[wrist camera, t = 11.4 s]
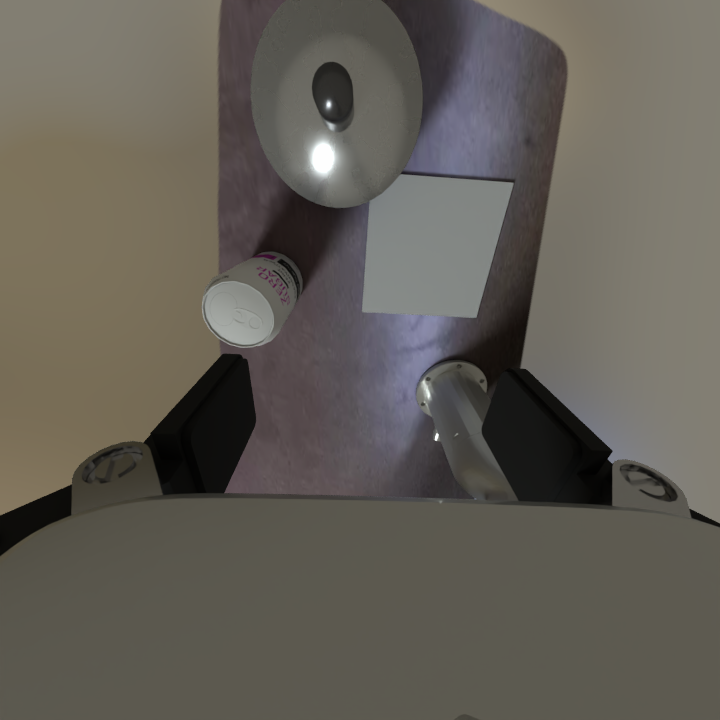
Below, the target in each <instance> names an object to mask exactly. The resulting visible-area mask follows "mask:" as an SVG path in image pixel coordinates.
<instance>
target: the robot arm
mask: <svg viewBox="0 0 720 720" xmlns="http://www.w3.org/2000/svg"><path fill="white" fill-rule="evenodd" d="M486 391H487V381H486V377H485V376H484V374H483V372H482V371H481V370H480V369H479V368H478V367H477V366H476V365H474V364H472V363H470V362H467V361H464V360H449V361H445V362H442V363H439V364H437V365H435V366H433V367H432V368H430V369H429V370H428V371H427V372H425V373H424V375H423V376H422V377H421V378H420V380H419V382H418V384H417V388H416V399H417V402H418V405H419V406H420V408H421V409H422V410H423V411H424V413H426V414H427V415H429V416H431V417H432V418H433V421H434V425H435V428H434V432H433V436H432V437H433V439H434V440H436V441H441V443H442V445H443V448H444V451H445V453H446V456H447V459H448V461H449V464H450V467H451V469H452V472H453V475H454V477H455V479H456V480H457V482H458V483H459V485H460V486H461V487H462V488H463V489H464V490H465V491H466V492H467V493H469V494H470V495H471V496H473V497H474V498H476V499H477V500H474V499H444V498H411V497H377V496H340V495H299V494H242V493H224V492H225V490H226V488H227V486H228V483H229V481H230V479H231V477H232V475H233V473H234V470H235V468H236V466H237V464H238V462H239V460H240V457H241V455H242V453H243V451H244V449H245V447H246V444H247V442H248V440H249V438H250V436H251V434H252V431H253V429H254V427H255V423H256V414H255V407H254V401H253V394H252V387H251V380H250V373H249V366H248V361H247V359H243V357H242V355H240V354H222V355H221V356H220V357H219V359H218V360H217V361H216V362H215V363H214V364H213V365H212V366H211V367H210V368H209V370H208V371H207V372H206V373H205V374H204V375H203V376H202V377H201V378H200V379H199V380H198V382H197V383H196V384H195V385H194V386H193V387H192V388H191V389H190V390H189V391H188V393H187V394H186V395H185V396H184V397H183V398H182V399H181V400H180V402H179V403H178V404H177V405H176V406H175V407H174V408H173V409H172V410H171V411H170V412H169V413H168V415H167V416H166V417H165V418H164V419H163V420H162V421H161V422H160V423H159V424H158V426H157V427H156V428H155V429H154V430H153V431H152V432H151V435H150V436H149V437H148V438H147V439H146V440H145V442H144V443H142V442H135V441H130V442H122V443H118V444H115V445H111V446H109V447H107V448H104V449H102V450H100V451H98V452H96V453H95V454H93V455H92V456H90V457H88V458H87V459H86V460H85V461H84V462H83V463H81V464H80V465H79V467H78V468H77V469H76V471H75V472H74V475H73V478H72V485H70V486H67V487H65V488H63V489H60V490H58V491H56V492H54V493H51V494H49V495H47V496H44V497H42V498H40V499H37V500H35V501H33V502H30V503H28V504H26V505H24V506H21V507H19V508H17V509H14V510H12V511H10V512H7V513H5V514H3V515H0V720H720V523H718V522H716V521H714V520H712V519H709V518H707V517H705V516H703V515H701V514H699V513H697V512H695V511H693V510H691V509H689V507H688V504H687V500H686V498H685V495H684V493H683V492H682V490H681V489H680V488H679V487H678V486H677V485H676V484H675V483H674V482H672V481H671V480H670V479H669V478H667V477H666V476H664V475H663V474H661V473H660V472H658V471H656V470H655V469H653V468H650V467H648V466H646V465H644V464H641V463H638V462H635V461H630V460H617V461H615V462H614V463H613V464H612V463H611V462H610V461H609V460H608V457H609V456H610V454H611V453H612V450H611V449H610V448H609V447H608V446H607V445H606V444H605V443H604V442H602V440H600V439H599V438H598V437H597V436H596V435H595V434H594V433H593V432H592V431H591V430H590V429H589V428H588V427H587V426H586V425H585V424H583V422H581V421H580V420H579V419H578V418H577V417H576V416H575V415H574V414H573V413H572V412H571V411H570V410H569V409H568V408H567V407H566V406H565V405H563V404H562V403H561V402H560V401H559V400H558V399H557V398H556V397H555V396H554V395H553V394H552V393H551V392H550V391H549V390H548V389H547V388H546V387H545V386H543V385H542V384H541V383H540V382H539V381H538V380H537V379H536V378H535V377H534V376H533V375H532V374H531V373H530V372H529V371H528V370H526V369H515V368H509V369H507V370H506V371H505V372H502V373H501V375H500V378H499V381H498V383H497V386H496V389H495V392H494V394H493V397H492V400H490V399H489V397H488V396H487V394H486Z"/></svg>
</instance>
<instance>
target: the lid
mask: <svg viewBox="0 0 720 720" xmlns="http://www.w3.org/2000/svg"><path fill="white" fill-rule="evenodd" d="M251 106H252V113H253V120H254V124H255V128H256V132H257V135H258V138H259V140H260V143H261V146H262V148H263V150H264V152H265V154H266V157H267V158H268V160H269V162H270V163H271V165H272V167H273V168H274V170H275V171H276V172H277V174H278V175H279V176H280V177H281V179H282V180H283V181H284V182H285V183H286V184H287V185H288V186H289V187H290V188H291V189H293V190H294V191H295V192H296V193H298V194H299V195H301V196H302V197H304V198H306V199H307V200H309V201H312V202H314V203H316V204H319V205H323V206H326V207H333V208H348V207H354V206H358V205H361V204H364V203H366V202H369V201H371V200H373V199H374V198H376V197H377V196H379V195H380V194H382V193H383V192H384V191H385V190H386V189H387V188H389V187H390V186H391V185H392V184H393V182H394V181H395V180H396V179H397V178H398V177H399V175H400V174H401V172H402V171H403V169H404V168H405V166H406V164H407V162H408V161H409V159H410V157H411V154H412V152H413V149H414V147H415V144H416V141H417V137H418V134H419V130H420V124H421V119H422V107H423V89H422V80H421V72H420V68H419V64H418V59H417V56H416V53H415V50H414V47H413V45H412V42H411V40H410V38H409V36H408V34H407V32H406V30H405V28H404V26H403V25H402V23H401V22H400V20H399V19H398V17H397V16H396V15H395V14H394V12H393V11H392V10H391V9H390V8H389V7H388V5H387V4H385V3H384V2H383V1H382V0H286V1H285V2H284V3H283V4H282V5H281V6H280V7H279V8H278V9H277V11H276V12H275V13H274V15H273V16H272V17H271V19H270V20H269V22H268V24H267V26H266V27H265V29H264V31H263V33H262V36H261V38H260V41H259V43H258V46H257V50H256V53H255V57H254V61H253V67H252V74H251Z"/></svg>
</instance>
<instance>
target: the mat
mask: <svg viewBox="0 0 720 720" xmlns="http://www.w3.org/2000/svg"><path fill="white" fill-rule="evenodd" d="M513 184H514V183H510V182H497V181H484V180H470V179H457V178H444V177H430V176H417V175H404V174H400V175H399V177H398V178H397V179H396V180H395V181H394V182H393V184H392V185H391V186H390V187H389V188H387V189H386V190H385V191H384V192H383V193H382V194H380V195H379V196H377V197H376V198H374V199H373V200H371V201H369V216H368V231H367V246H366V261H365V276H364V291H363V306H362V312H372V313H391V314H411V315H430V316H450V317H470V318H476V317H477V313H478V310H479V306H480V302H481V299H482V295H483V292H484V288H485V284H486V281H487V277H488V274H489V270H490V267H491V263H492V259H493V256H494V252H495V249H496V245H497V242H498V238H499V234H500V231H501V227H502V224H503V220H504V216H505V213H506V209H507V206H508V202H509V199H510V195H511V191H512V188H513Z"/></svg>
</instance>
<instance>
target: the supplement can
mask: <svg viewBox="0 0 720 720" xmlns="http://www.w3.org/2000/svg"><path fill="white" fill-rule="evenodd" d="M302 288H303V279H302V276H301V273H300V270H299V269H298V267H297V266H296V265H295V263H294V262H293V261H292V260H291V259H289V258H288V257H286V256H285V255H283V254H280V253H277V252H273V251H272V252H262V253H260V254H258V255H256V256H254V257H252V258H250V259H248V260H246V261H244V262H242V263H241V264H239V265H237V266H235V267H233V268H231V269H229V270H227V271H225V272H223V273H221V274H220V275H218V276H216V277H214V278H213V279H212V280H211V281H210V283H209V284H208V285H207V286H206V288H205V291H204V295H203V300H202V302H203V303H202V312H203V318H204V320H205V322H206V324H207V326H208V328H209V329H210V331H211V332H212V333H213V334H215V335H216V336H217V337H218V338H219V339H220V340H222V341H224V342H226V343H227V344H229V345H233V346H237V347H241V348H245V347H254V346H260V345H263V344H265V343H267V342H270V341H271V340H272V339H273V338H274V337H275V336H276V335H277V334H278V333H279V332H280V330H281V328H282V327H283V325H284V323H285V322H286V320H287V318H288V316H289V315H290V313H291V311H292V310H293V308H294V306H295V304H296V303H297V301H298V299H299V297H300V295H301V292H302Z"/></svg>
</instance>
